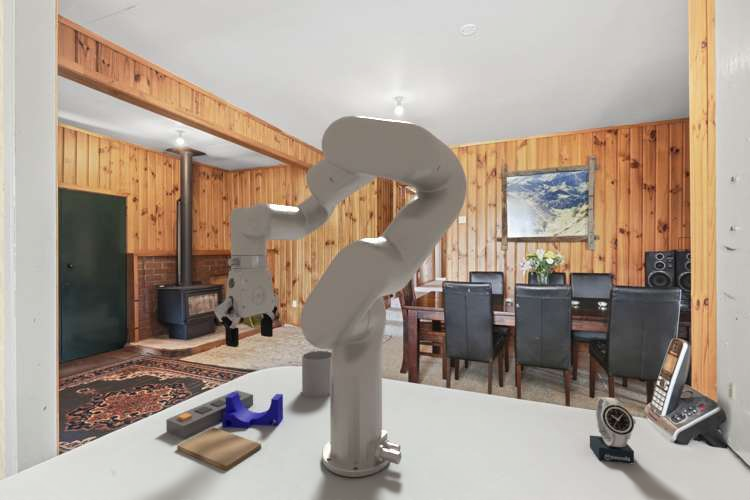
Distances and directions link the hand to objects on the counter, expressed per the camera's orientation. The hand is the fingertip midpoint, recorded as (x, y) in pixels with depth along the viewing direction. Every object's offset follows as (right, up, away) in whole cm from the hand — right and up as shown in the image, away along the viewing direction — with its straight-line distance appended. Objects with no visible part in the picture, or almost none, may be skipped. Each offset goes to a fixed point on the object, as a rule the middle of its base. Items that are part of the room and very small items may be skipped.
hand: (250, 341), depth 79 cm
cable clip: (+1, -19, 0) cm, 19 cm away
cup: (+12, -19, +17) cm, 28 cm away
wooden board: (-3, -18, -10) cm, 21 cm away
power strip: (-10, -19, +3) cm, 21 cm away
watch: (+71, -18, -14) cm, 74 cm away
